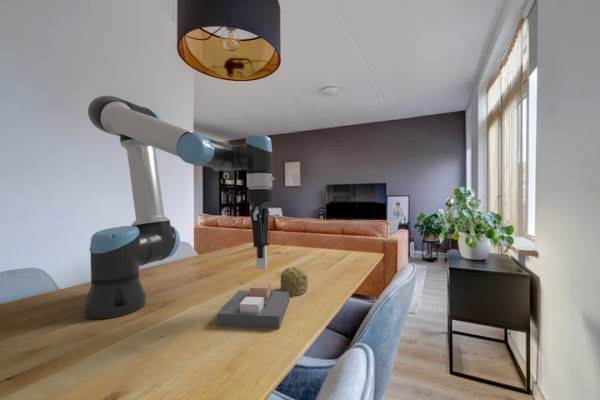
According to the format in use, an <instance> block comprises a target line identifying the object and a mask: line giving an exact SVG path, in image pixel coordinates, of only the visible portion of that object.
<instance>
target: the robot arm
mask: <svg viewBox="0 0 600 400" xmlns="http://www.w3.org/2000/svg"><path fill="white" fill-rule="evenodd" d="M87 115H88V117H89V118H88V119H89V120H90V122H91V123H92V124H93V126H94V127H95V128H97V129H98V130H100V131H102V132H104V133H106V134H111V135H114V136H118V137H119V143H120V145H121V147H123V149H125V150H126V155H127V161H128V169H129V177H130V184H131V192H132V199H133V207H134V213H135V220H134V221H133V222H132V224H131V225H127V226H126V225H123V226H121V225H120V226H117V227H116V226H115V227H110V228H104V229H102V230H99V231H96V232H95V233H93V235H92V236H91V238H90V246H89V253H90V288H89V289H88V293H87V297H86V300H85V303H84V304H83V308H82V309H83V310H82V312H83V317H85V318H86V319H90V320H105V319H106V320H107V319H112V318H116V317H120V316H121V317H122V316H124V315H128V314H130V313H133V312H136V311H139V310H140V309H141V308H143V307H144V306H146V305H147V294H146V293H145V290H144V288H143V284H142V282H141V279H140V267H141V266H145V265H148V264H152V263H156V262H161V261H163V260H165V259H167V258H168V259H169V258H170V257H173V255H174V254H175V253H176V252H177V250H178V249H179V246H180V243H181V238H180V236H181V235H180V233H179V231H178V229H176V227H175V226H173V225H171V219H170V218H168V217H167V216H166V215H165V212H164V211H165V210H164V204H163V198H162V189H161V187H162V186H161V182H160V180H161V179H160V175H159V167H158V161H157V160H158V159H157V152H156V149H159V150H161V151H164V152H166V153H168V154H171V155H173V156H176V157H179V158H180V159H181V160H182V161H183V162H185V163H186V164H190V165H192V166H195V167H198V166H200V167H208V168H212V170H214V171H216V172H228V171H238V170H239V171H241V170H244V171H245V170H246V187H247V188H248V190H247V192H246V194H247V195H246V196H247V199H246V200H247V203H253V208H252V210H251V211H252V212H251V213H250V220H251V226H252V228H251V230H252V239H253V245H252V246H253V248H255V252H256V253H255V254H256V255H255V256H256V257H255V259H256V270H266V269H267V268H268V267H267V266H268V263H267V259H268V258H267V246H270V243H269V217H270V211H269V208H268V207H267V205H268V204H267V203H273V200H274V191H273V189H272V187H273V181H275V177H274V176H273V148H272V147H273V145H272V140H271V138H270V137H269V136H267V135H264V134H251V135H248V136H247V137H246V138H245V143H244V144H234V145H232V144H227V143H224V142H221V141H218V140H215V139H212V138H209V137H206V136H204V135H202V134H199V133H195V132H192V131H190V130H188V129H184V128H182V127H180V126H176V125H175V124H172V123H169V122H166V121H163V119H162V117H161V116H160V115H159V114H158V113H157V112H156V111H153V110H151V109H150V108H148V107H145V106H141V105H139V104H135V103H133V102H130V101H128V100H125V99H122V98H119V97H118V96H112V95H101V96H98V97H95V98H94V99H93V100H91V102H90V103H89V105H88V108H87Z"/></svg>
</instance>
